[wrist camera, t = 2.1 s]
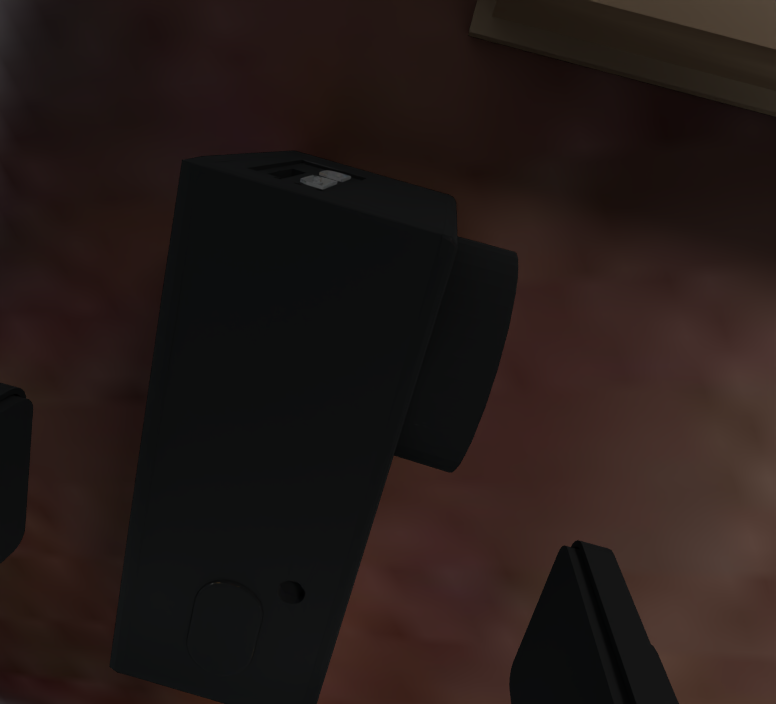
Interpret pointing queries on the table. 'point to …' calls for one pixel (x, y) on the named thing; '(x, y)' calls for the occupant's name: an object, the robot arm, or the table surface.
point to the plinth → (650, 41)
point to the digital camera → (292, 410)
